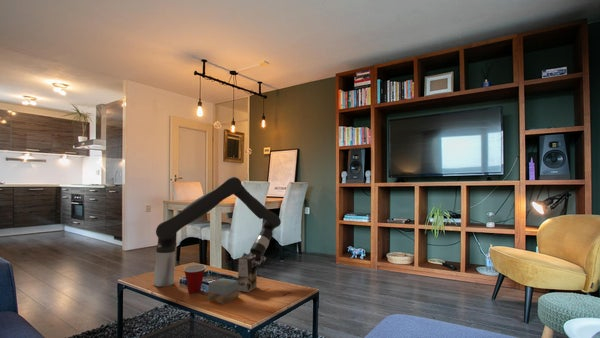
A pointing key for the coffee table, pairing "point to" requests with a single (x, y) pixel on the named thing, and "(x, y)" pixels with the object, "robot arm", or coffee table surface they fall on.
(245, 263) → the coffee box
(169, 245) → the robot arm
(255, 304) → the coffee table surface
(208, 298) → the tower base
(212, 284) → the tower top
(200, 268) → the plastic cup
